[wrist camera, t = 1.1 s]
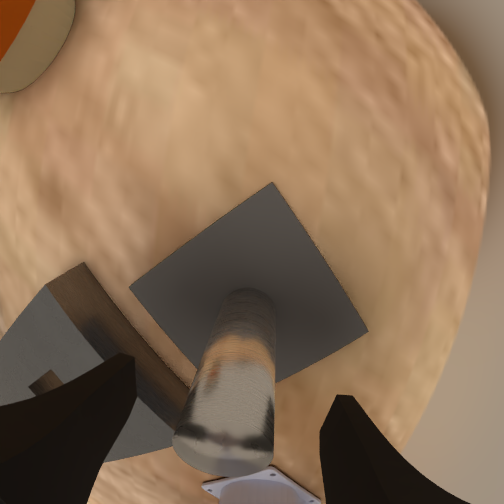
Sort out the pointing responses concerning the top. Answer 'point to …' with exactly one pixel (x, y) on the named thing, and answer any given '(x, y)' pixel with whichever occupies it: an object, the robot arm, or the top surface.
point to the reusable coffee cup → (31, 38)
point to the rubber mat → (253, 284)
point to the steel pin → (233, 391)
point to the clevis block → (88, 358)
